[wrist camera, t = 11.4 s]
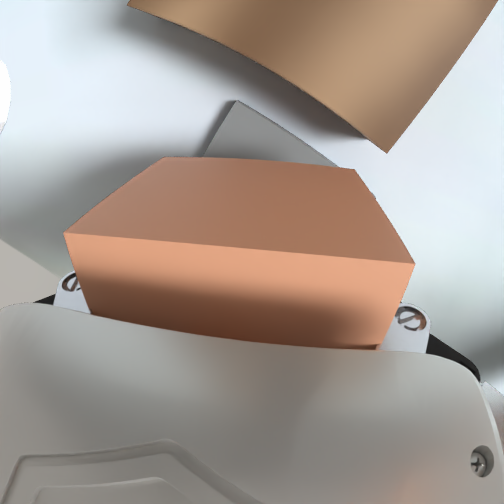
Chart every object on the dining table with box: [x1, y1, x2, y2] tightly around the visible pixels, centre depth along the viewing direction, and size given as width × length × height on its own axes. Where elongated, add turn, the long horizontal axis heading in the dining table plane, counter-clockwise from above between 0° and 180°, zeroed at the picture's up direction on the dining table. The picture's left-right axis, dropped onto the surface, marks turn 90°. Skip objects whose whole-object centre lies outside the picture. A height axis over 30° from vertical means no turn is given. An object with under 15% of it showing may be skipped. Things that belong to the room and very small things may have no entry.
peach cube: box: [63, 157, 415, 350], centre depth 9 cm, size 7×7×7 cm
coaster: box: [202, 100, 376, 199], centre depth 15 cm, size 8×8×1 cm
